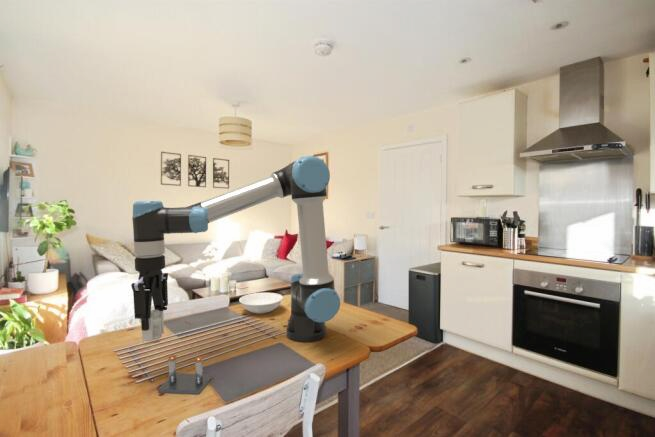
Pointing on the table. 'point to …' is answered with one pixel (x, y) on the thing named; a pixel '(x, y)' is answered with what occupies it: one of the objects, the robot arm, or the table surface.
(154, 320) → the pill bottle
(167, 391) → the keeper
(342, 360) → the table surface
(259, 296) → the bowl
